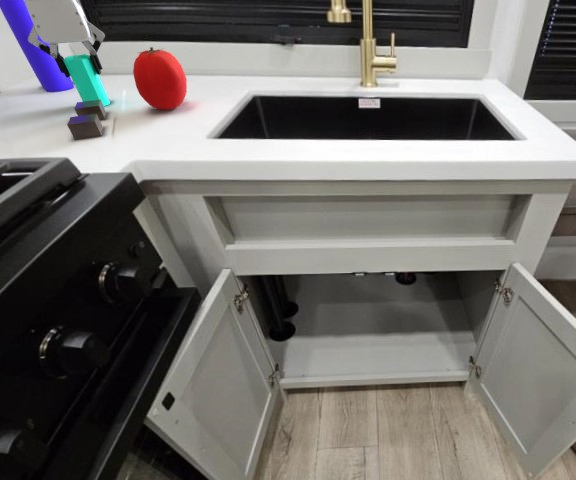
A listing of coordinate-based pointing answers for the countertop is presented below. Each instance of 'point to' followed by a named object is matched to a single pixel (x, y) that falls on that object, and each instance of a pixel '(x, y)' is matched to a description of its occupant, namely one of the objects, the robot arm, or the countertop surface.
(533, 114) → the countertop surface
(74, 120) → the dark grey block
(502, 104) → the countertop surface
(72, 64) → the candle
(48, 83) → the bottle
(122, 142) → the countertop surface
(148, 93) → the tomato
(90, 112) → the dark brown block
